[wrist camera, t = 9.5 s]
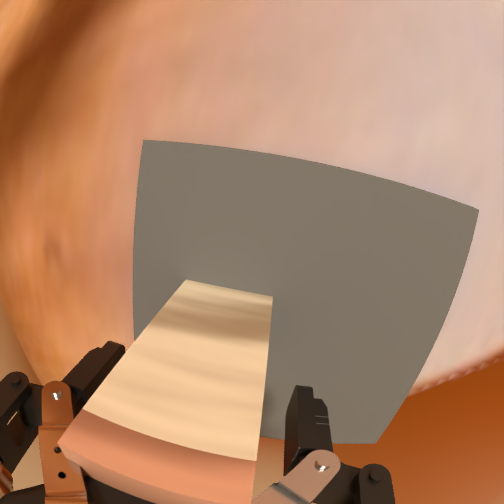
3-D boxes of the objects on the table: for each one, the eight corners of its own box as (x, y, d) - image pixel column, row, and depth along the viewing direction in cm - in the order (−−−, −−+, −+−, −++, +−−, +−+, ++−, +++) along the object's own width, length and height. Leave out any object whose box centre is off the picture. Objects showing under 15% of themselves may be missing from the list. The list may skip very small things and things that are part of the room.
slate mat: (147, 140, 15) (143, 139, 14) (473, 208, 14) (479, 209, 13) (143, 403, 21) (140, 407, 20) (374, 438, 20) (375, 443, 19)
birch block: (185, 279, 16) (57, 442, 5) (272, 296, 16) (250, 508, 5) (181, 349, 18) (99, 506, 6) (257, 365, 17) (228, 546, 6)
